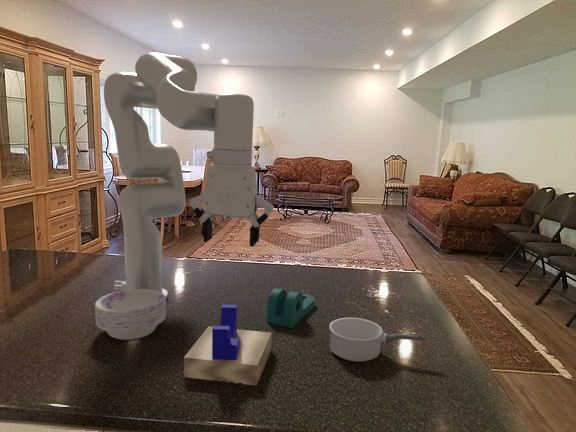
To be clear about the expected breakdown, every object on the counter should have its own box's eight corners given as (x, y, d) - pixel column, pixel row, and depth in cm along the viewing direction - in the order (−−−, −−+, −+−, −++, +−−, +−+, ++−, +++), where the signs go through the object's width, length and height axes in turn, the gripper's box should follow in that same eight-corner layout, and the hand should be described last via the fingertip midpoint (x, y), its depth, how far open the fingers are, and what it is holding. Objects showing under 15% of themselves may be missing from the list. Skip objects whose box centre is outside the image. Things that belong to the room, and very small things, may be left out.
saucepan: (425, 375, 86) (427, 349, 85) (324, 361, 90) (325, 336, 90) (421, 349, 97) (423, 325, 96) (331, 337, 102) (332, 314, 101)
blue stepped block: (236, 360, 82) (236, 329, 80) (212, 359, 82) (212, 328, 81) (243, 332, 93) (244, 305, 92) (222, 331, 93) (222, 304, 92)
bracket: (291, 328, 106) (293, 297, 104) (266, 323, 108) (267, 292, 107) (317, 304, 122) (319, 277, 121) (295, 299, 125) (296, 273, 123)
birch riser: (184, 377, 83) (183, 357, 82) (208, 343, 96) (208, 326, 96) (256, 385, 81) (257, 365, 80) (271, 350, 94) (271, 332, 94)
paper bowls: (113, 316, 109) (112, 286, 107) (174, 319, 108) (174, 288, 107) (83, 345, 94) (81, 310, 92) (153, 348, 93) (153, 313, 92)
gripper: (183, 156, 84) (182, 243, 88) (271, 162, 82) (267, 251, 85) (198, 155, 92) (197, 234, 95) (279, 160, 89) (275, 242, 92)
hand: (230, 242), depth 90 cm, fingers open, 9 cm apart
